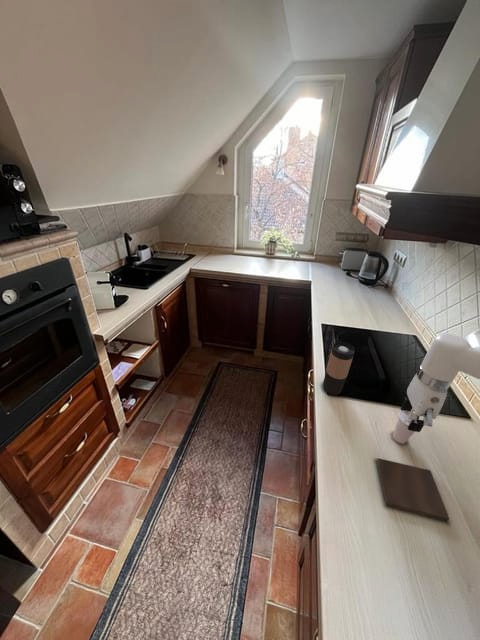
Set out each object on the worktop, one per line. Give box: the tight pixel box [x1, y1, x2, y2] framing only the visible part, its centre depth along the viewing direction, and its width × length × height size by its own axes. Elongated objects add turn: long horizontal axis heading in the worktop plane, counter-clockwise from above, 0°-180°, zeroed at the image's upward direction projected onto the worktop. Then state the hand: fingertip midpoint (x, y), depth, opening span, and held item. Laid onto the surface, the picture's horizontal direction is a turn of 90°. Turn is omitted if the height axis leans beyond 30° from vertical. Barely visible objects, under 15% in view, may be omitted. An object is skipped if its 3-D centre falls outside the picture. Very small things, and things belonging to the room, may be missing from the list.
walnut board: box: [375, 457, 450, 522], centre depth 69 cm, size 14×12×2 cm
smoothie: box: [392, 408, 422, 445], centre depth 78 cm, size 6×6×14 cm
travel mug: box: [322, 341, 355, 396], centre depth 95 cm, size 8×8×20 cm
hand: (409, 420), depth 77 cm, fingers closed on smoothie, 6 cm apart
